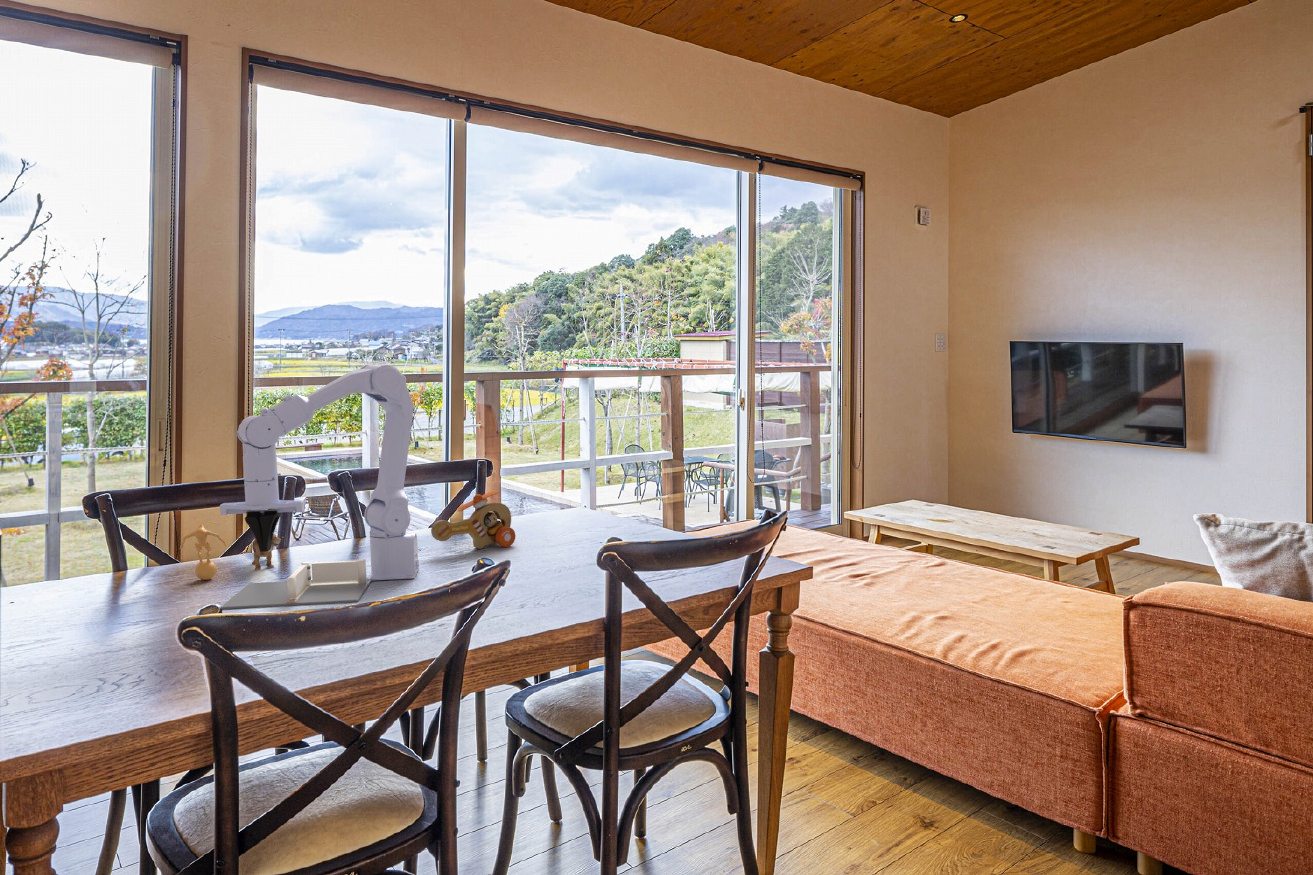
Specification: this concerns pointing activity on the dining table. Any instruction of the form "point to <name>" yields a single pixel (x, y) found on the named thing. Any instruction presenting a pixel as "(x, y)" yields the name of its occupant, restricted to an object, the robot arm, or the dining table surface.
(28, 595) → the dining table surface
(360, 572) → the fixed fence section
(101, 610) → the dining table surface
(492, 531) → the toy helicopter
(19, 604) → the dining table surface
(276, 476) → the robot arm
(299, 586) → the hinged fence panel
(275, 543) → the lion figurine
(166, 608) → the dining table surface
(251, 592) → the board
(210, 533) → the figurine
